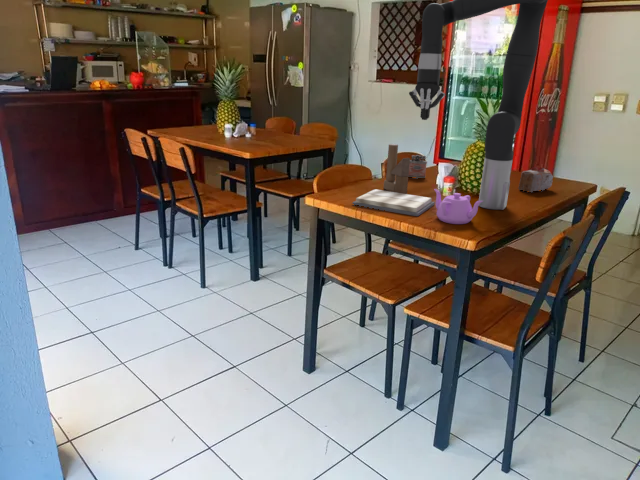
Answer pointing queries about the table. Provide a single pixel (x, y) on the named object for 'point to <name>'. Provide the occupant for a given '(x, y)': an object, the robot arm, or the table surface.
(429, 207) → the underlay mat
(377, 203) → the white flat slab
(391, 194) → the loose plank
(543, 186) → the food item
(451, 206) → the teapot
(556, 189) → the table surface
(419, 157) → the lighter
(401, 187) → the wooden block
